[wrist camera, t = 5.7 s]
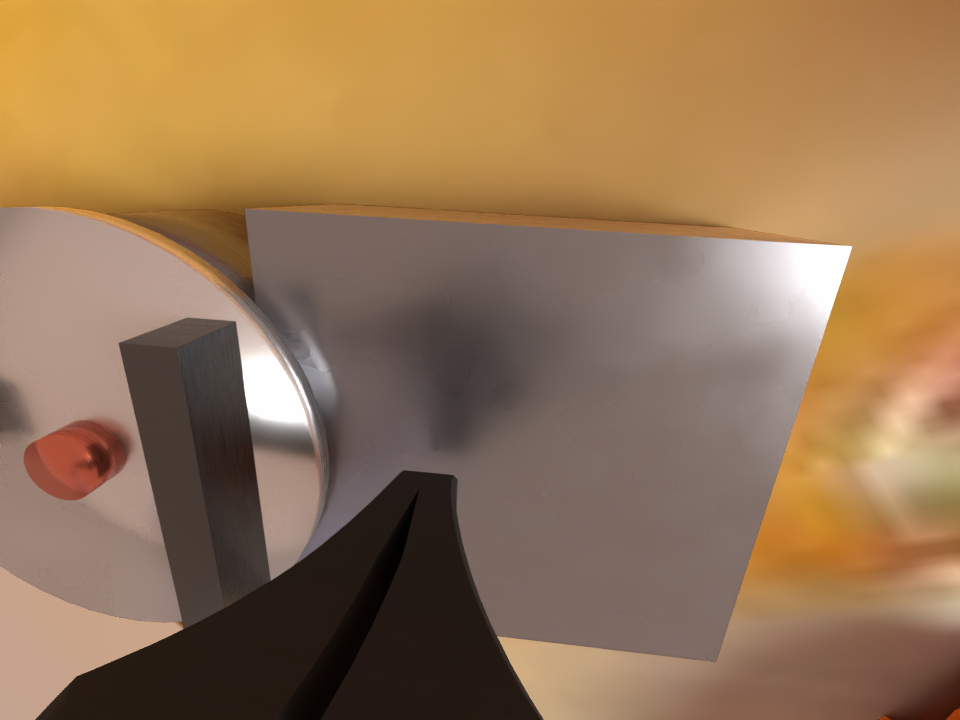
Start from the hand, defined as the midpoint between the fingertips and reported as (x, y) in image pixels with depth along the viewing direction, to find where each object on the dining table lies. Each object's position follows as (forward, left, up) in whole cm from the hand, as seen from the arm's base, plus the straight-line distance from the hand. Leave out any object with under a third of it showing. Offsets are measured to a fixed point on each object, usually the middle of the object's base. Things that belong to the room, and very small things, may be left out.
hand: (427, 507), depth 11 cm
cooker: (-3, +3, -8) cm, 9 cm away
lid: (-6, +7, -2) cm, 10 cm away
